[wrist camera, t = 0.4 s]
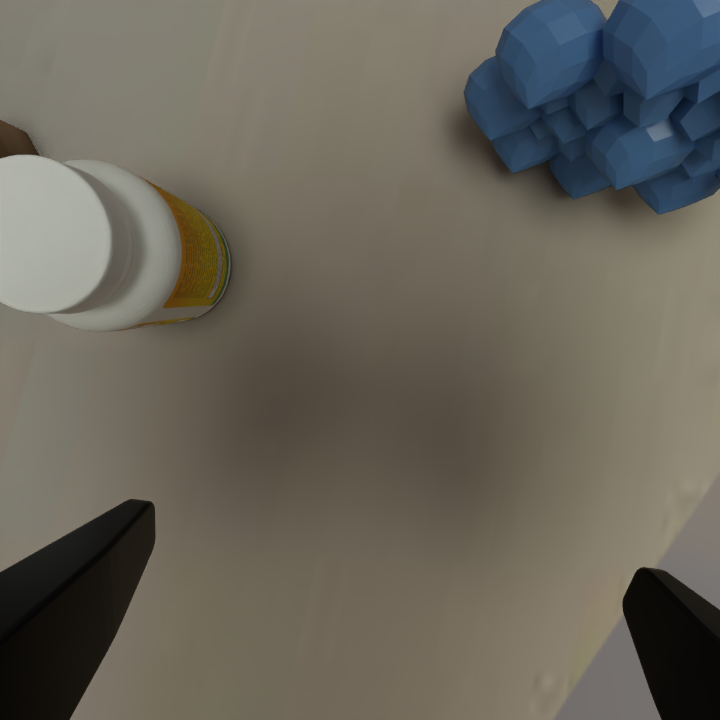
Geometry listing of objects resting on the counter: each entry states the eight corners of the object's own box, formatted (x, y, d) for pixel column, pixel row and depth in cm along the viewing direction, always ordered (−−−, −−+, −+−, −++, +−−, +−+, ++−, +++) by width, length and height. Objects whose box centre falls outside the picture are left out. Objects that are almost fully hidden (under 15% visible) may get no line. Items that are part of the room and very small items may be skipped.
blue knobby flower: (722, 118, 20) (1236, -127, 8) (658, 263, 21) (1041, 224, 9) (482, 20, 20) (675, -393, 8) (426, 174, 21) (524, 12, 9)
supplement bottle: (165, 343, 22) (16, 381, 12) (94, 247, 21) (-124, 207, 11) (257, 278, 21) (178, 265, 12) (187, 178, 21) (43, 79, 11)
